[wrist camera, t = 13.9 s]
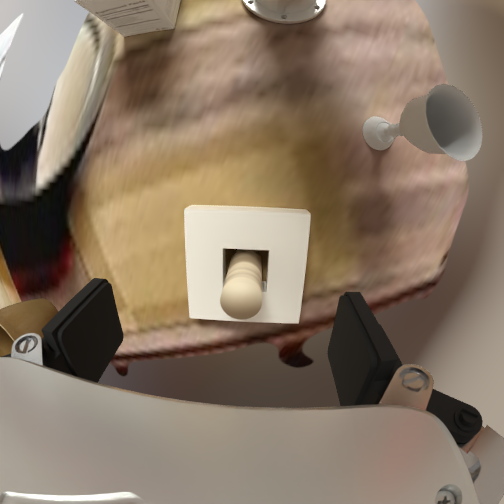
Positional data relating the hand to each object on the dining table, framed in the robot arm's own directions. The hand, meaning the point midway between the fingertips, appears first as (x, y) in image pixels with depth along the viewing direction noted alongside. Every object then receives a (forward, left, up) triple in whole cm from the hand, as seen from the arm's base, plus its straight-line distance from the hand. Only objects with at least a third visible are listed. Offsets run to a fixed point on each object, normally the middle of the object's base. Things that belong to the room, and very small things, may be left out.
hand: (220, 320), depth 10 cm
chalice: (-12, +18, -29) cm, 36 cm away
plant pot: (+22, -42, -29) cm, 55 cm away
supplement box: (-32, -16, -29) cm, 46 cm away
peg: (+8, 0, -28) cm, 30 cm away
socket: (+8, 0, -28) cm, 30 cm away
